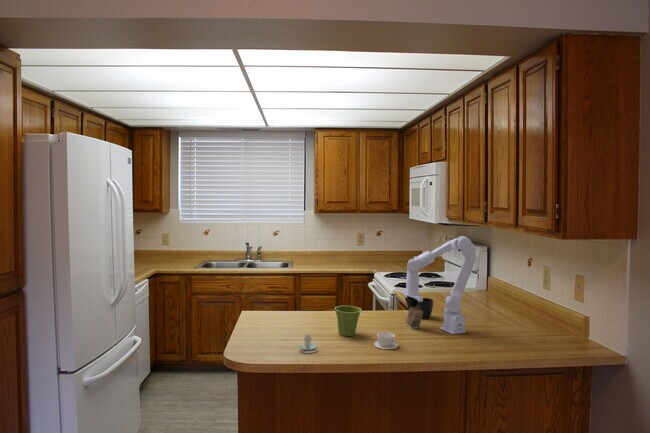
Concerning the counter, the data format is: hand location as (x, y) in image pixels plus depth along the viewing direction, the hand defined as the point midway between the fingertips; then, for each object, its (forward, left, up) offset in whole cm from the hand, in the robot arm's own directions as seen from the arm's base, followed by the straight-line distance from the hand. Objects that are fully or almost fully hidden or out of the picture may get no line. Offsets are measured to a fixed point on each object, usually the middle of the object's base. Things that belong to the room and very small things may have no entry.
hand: (411, 313), depth 197 cm
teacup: (-19, +25, -7) cm, 32 cm away
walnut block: (-1, 0, -6) cm, 6 cm away
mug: (+12, -15, -7) cm, 20 cm away
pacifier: (-15, +58, -7) cm, 60 cm away
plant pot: (-1, +34, -7) cm, 35 cm away
